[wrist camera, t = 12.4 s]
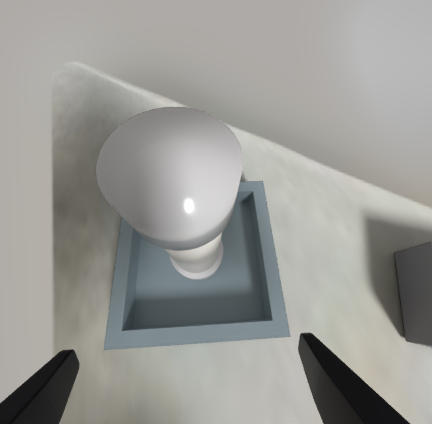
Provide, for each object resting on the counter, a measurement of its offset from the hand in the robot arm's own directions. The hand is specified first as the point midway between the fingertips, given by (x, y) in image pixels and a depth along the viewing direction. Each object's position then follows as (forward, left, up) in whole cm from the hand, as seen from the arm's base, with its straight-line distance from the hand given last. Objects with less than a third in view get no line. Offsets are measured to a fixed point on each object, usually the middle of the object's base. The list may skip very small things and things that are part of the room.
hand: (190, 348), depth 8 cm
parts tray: (+5, +2, -9) cm, 10 cm away
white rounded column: (+5, +2, -8) cm, 9 cm away
